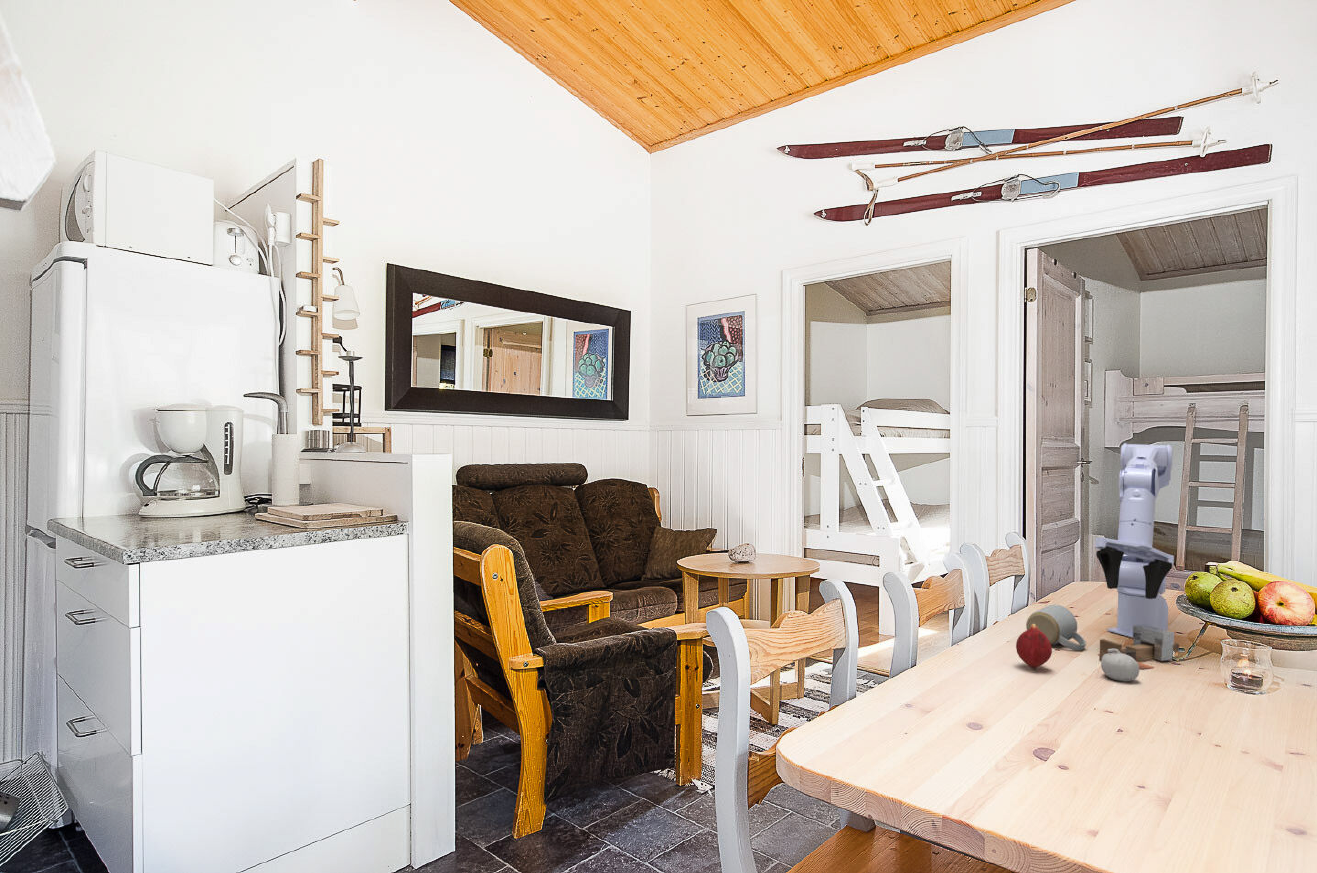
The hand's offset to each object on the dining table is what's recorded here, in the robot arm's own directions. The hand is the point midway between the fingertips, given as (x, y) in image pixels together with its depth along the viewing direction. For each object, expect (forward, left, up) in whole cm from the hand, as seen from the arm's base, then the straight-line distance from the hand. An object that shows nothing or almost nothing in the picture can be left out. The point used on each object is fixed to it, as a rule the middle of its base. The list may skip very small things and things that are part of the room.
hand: (1131, 593), depth 146 cm
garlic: (+15, +9, -13) cm, 22 cm away
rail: (-1, +2, -12) cm, 12 cm away
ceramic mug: (+7, -11, -13) cm, 18 cm away
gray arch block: (-3, +2, -12) cm, 13 cm away
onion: (+25, 0, -12) cm, 28 cm away
